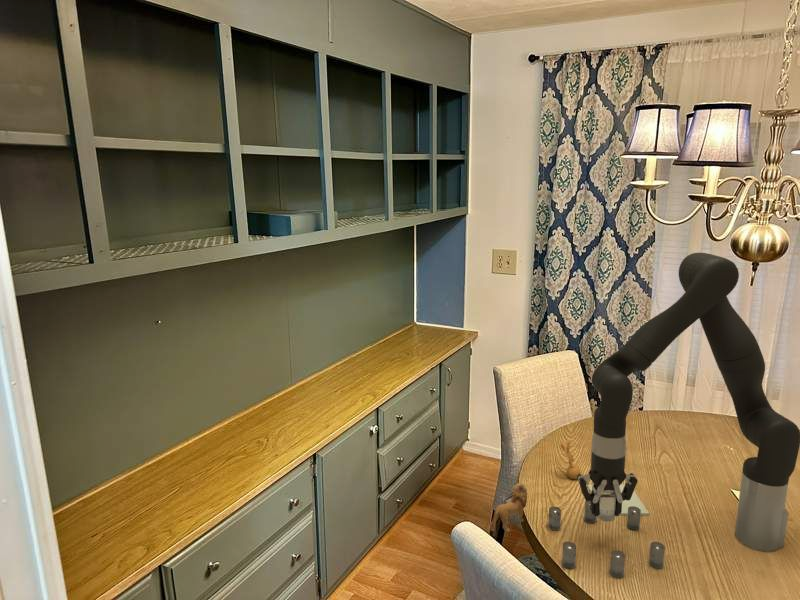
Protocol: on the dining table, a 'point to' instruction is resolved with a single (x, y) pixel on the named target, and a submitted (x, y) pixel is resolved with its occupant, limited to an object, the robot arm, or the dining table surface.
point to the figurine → (572, 469)
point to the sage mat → (629, 502)
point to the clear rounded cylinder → (607, 506)
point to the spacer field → (616, 556)
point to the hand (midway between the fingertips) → (605, 514)
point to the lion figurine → (511, 507)
